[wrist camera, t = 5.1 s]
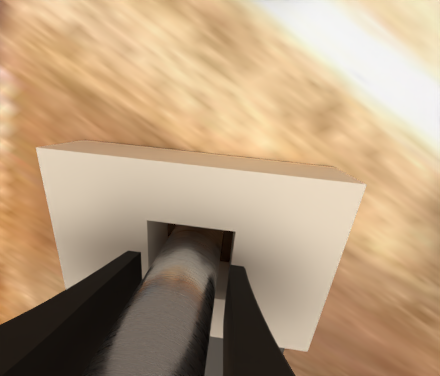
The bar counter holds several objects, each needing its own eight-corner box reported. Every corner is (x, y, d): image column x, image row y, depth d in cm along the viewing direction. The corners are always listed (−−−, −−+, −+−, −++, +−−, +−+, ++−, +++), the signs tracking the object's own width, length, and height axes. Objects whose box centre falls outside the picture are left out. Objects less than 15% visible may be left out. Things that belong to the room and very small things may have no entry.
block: (334, 166, 11) (366, 184, 8) (294, 305, 14) (307, 351, 12) (84, 139, 12) (35, 147, 9) (102, 277, 15) (71, 314, 12)
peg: (225, 213, 12) (198, 404, 4) (221, 255, 13) (190, 487, 5) (177, 207, 13) (49, 378, 4) (175, 249, 14) (68, 463, 5)
